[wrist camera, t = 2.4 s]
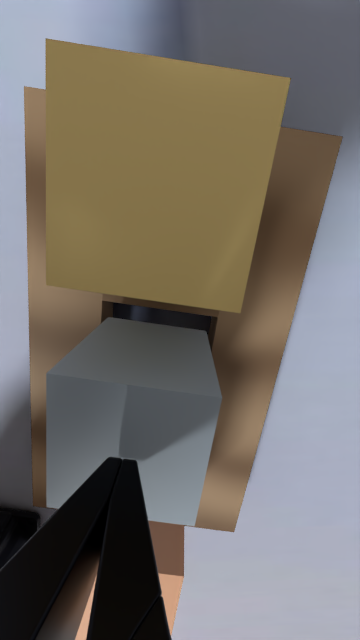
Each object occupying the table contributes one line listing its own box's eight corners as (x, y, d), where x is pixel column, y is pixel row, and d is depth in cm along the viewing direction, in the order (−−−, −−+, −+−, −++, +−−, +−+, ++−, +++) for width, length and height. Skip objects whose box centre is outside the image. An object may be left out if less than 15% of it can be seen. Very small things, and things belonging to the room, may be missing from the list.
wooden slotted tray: (228, 499, 20) (234, 532, 18) (50, 476, 20) (32, 506, 18) (316, 155, 14) (342, 136, 11) (51, 113, 13) (24, 86, 11)
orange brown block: (173, 513, 17) (166, 657, 11) (95, 503, 16) (46, 643, 11) (184, 450, 15) (183, 576, 9) (99, 439, 15) (46, 558, 9)
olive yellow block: (215, 282, 12) (240, 313, 7) (111, 267, 12) (46, 285, 7) (235, 166, 11) (291, 77, 5) (119, 148, 11) (45, 38, 5)
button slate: (191, 414, 14) (194, 526, 9) (102, 402, 14) (46, 507, 9) (206, 331, 13) (222, 397, 7) (108, 316, 13) (46, 373, 7)
